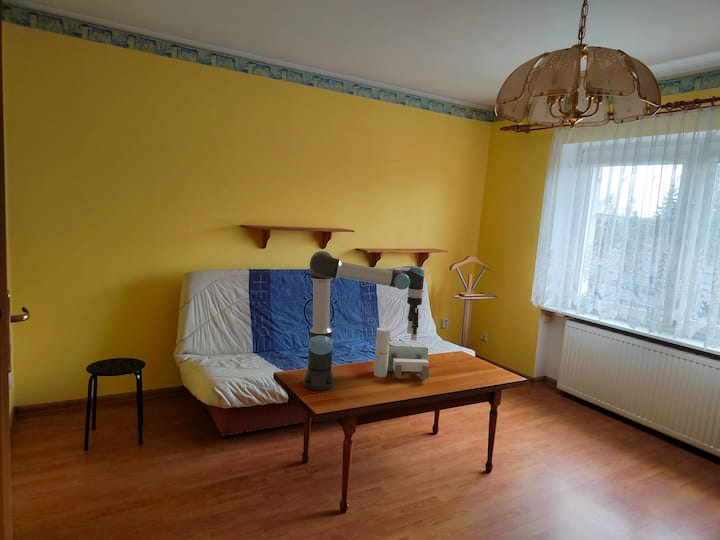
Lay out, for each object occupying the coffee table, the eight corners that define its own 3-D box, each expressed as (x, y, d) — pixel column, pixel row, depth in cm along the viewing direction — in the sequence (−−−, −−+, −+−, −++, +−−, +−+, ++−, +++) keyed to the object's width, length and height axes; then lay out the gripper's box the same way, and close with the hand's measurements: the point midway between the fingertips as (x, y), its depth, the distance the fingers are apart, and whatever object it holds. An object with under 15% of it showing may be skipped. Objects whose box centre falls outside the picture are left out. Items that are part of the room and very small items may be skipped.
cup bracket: (389, 382, 239) (391, 355, 237) (386, 370, 257) (388, 345, 255) (432, 384, 239) (434, 357, 238) (425, 371, 258) (427, 347, 256)
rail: (394, 370, 242) (394, 361, 241) (392, 367, 246) (393, 358, 246) (428, 371, 243) (428, 362, 243) (426, 368, 248) (426, 359, 248)
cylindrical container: (386, 377, 245) (389, 331, 242) (372, 376, 246) (375, 330, 243) (387, 373, 252) (391, 328, 249) (375, 371, 253) (378, 327, 250)
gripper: (426, 301, 228) (422, 343, 230) (418, 293, 253) (415, 331, 255) (411, 300, 228) (407, 342, 230) (404, 292, 252) (401, 330, 255)
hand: (411, 336), depth 243 cm, fingers open, 13 cm apart
